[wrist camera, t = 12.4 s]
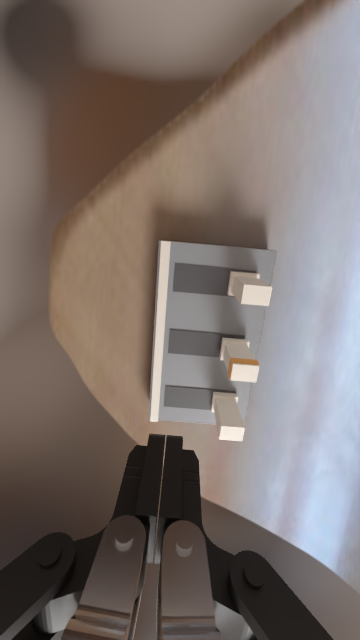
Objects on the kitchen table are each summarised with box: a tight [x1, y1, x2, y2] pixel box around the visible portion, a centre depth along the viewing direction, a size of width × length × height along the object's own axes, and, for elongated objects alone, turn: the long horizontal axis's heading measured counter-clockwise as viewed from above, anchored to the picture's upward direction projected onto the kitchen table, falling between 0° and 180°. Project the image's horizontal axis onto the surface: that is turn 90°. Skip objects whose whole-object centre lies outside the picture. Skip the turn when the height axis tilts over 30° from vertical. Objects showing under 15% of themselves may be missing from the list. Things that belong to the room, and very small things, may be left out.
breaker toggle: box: [219, 338, 259, 382], centre depth 22 cm, size 2×2×5 cm
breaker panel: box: [149, 240, 277, 441], centre depth 24 cm, size 18×10×7 cm, turn 175°
